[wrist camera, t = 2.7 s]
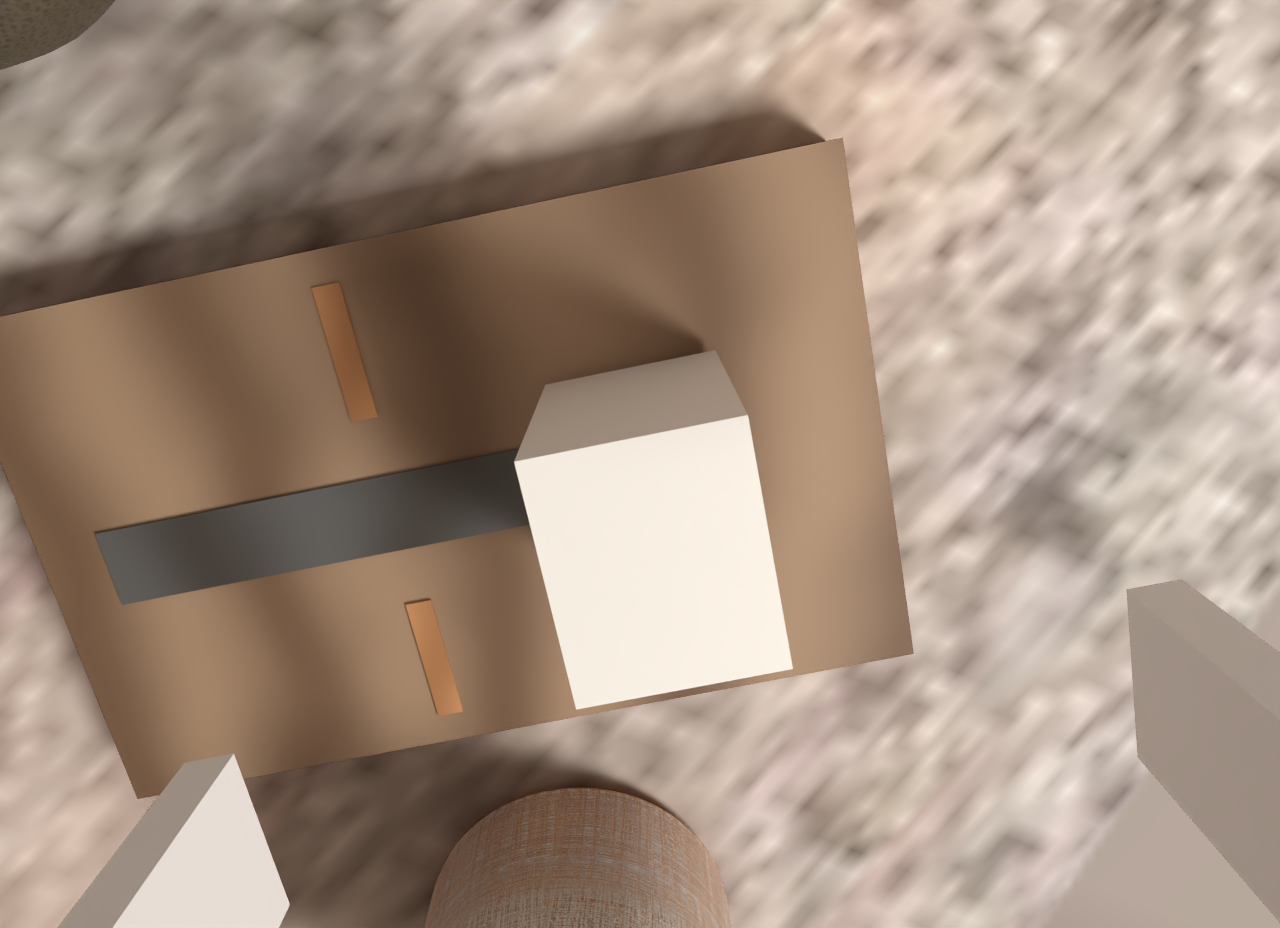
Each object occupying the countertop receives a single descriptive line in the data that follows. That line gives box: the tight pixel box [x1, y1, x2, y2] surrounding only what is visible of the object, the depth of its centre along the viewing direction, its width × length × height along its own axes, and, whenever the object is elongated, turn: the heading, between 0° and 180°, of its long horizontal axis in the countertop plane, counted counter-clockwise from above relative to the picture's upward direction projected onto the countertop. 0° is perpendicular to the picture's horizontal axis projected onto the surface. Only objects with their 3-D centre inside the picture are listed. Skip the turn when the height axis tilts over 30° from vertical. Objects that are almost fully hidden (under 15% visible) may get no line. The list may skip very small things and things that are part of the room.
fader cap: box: [514, 350, 793, 710], centre depth 25 cm, size 5×6×8 cm
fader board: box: [0, 138, 914, 799], centre depth 31 cm, size 26×16×2 cm, turn 102°
